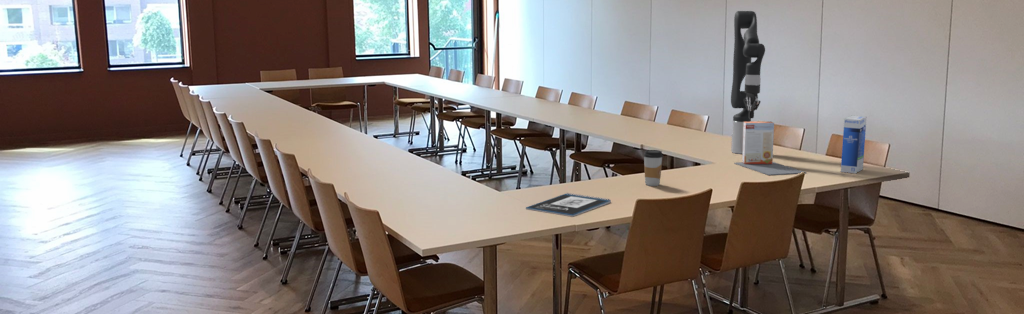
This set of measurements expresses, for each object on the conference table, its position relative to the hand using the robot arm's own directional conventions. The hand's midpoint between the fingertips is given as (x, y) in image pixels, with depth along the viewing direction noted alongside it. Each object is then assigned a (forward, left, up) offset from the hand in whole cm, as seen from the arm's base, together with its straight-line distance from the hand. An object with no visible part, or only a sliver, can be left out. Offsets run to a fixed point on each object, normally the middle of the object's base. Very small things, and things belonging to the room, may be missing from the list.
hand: (751, 118), depth 437 cm
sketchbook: (+69, -120, -23) cm, 140 cm away
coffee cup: (+40, -71, -23) cm, 85 cm away
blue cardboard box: (+35, +35, -23) cm, 54 cm away
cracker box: (+8, 0, -22) cm, 23 cm away
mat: (+19, 0, -22) cm, 29 cm away
